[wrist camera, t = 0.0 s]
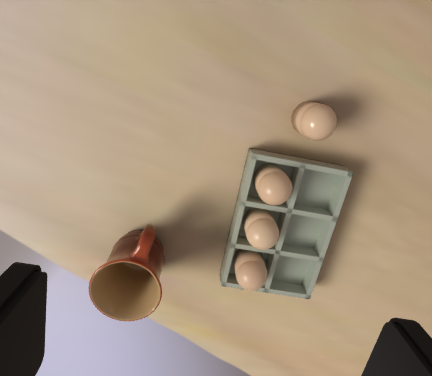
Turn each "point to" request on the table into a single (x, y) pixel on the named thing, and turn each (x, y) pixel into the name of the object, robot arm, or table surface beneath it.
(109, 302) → the mug
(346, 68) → the table surface
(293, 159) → the carton
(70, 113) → the table surface
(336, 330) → the table surface
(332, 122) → the egg
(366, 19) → the table surface
